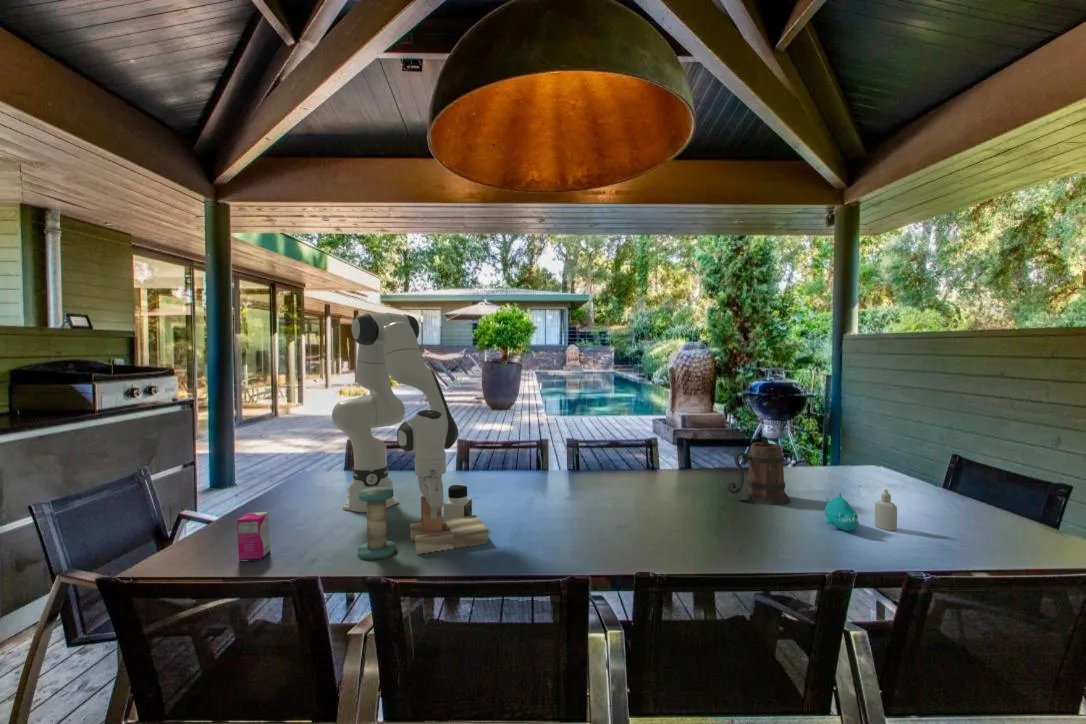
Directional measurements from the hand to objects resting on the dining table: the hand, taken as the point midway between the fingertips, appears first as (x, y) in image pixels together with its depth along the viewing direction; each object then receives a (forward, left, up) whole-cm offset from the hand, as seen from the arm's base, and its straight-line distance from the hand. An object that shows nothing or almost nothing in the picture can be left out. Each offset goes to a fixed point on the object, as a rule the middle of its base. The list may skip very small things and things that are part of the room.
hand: (431, 514), depth 144 cm
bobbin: (+1, -15, -8) cm, 17 cm away
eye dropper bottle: (+44, +131, -9) cm, 138 cm away
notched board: (0, +5, -8) cm, 10 cm away
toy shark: (+37, +120, -9) cm, 126 cm away
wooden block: (0, 0, -4) cm, 4 cm away
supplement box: (-9, -46, -9) cm, 48 cm away
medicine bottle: (-14, +11, -9) cm, 20 cm away
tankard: (+5, +119, -9) cm, 119 cm away
